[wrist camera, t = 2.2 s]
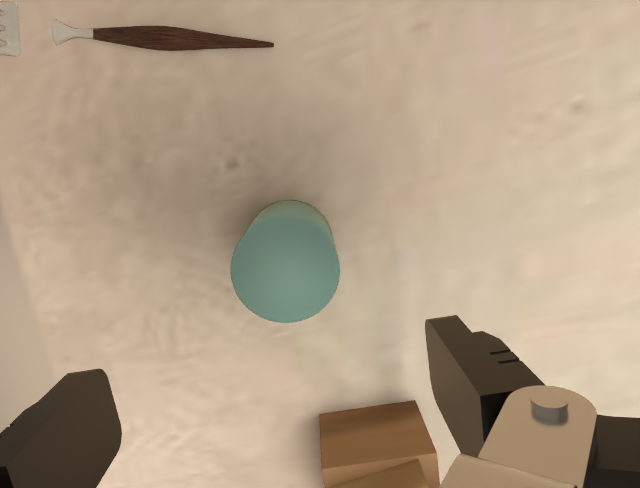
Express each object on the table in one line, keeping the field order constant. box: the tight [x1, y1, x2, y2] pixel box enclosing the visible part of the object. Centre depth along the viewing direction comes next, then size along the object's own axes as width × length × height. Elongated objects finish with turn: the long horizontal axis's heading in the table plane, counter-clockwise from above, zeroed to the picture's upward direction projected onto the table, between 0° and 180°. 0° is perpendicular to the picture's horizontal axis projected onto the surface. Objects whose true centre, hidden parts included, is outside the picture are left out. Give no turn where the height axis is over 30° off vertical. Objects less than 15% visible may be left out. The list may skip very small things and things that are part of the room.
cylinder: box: [231, 200, 340, 323], centre depth 23 cm, size 5×5×6 cm
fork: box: [0, 1, 274, 56], centre depth 23 cm, size 3×16×2 cm, turn 87°
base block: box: [319, 400, 440, 488], centre depth 27 cm, size 6×6×5 cm
